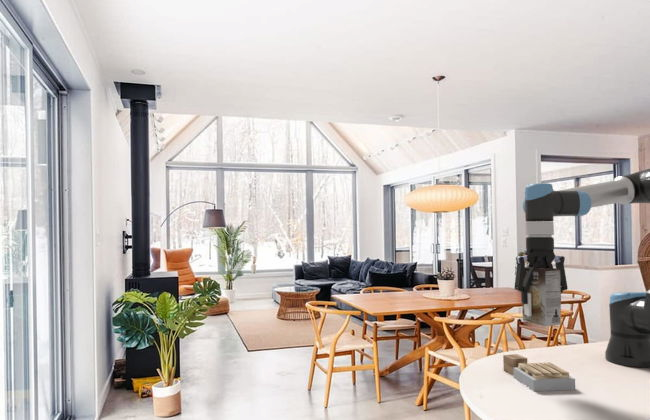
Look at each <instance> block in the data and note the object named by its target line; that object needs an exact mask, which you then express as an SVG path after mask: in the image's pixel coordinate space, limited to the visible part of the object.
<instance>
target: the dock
mask: <svg viewBox="0 0 650 420" xmlns="http://www.w3.org/2000/svg"><path fill="white" fill-rule="evenodd" d="M513 373H514V376H513V379H515V380H516V379H517V380H516V381H518V382H519V381H520V382H519V383H521V384H522V383H523V384H522V385H524V386H525V385H526V388H528V387H529V389H530V390H531V391H533V392H545V391H546V392H547V391H548V392H549V391H574V390H576V378H574V377H572V376H570V375H569V376H570V378H548V379H534V378H533V377H532V374H526V373H525V370H520V369H518V367H516V368H513Z"/></svg>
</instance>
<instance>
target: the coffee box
mask: <svg viewBox="0 0 650 420" xmlns="http://www.w3.org/2000/svg"><path fill="white" fill-rule="evenodd" d="M530 269H531V268H528V266H525V270H524V278H525V275H526V273H527V272H528V271H529V270H530ZM523 281H524V279H523ZM528 293H531V316H527V315H525V314H524V304H523V303H522V302H521V304H522V305H521V306H522V311H521V312H522V322H527V323H530V324H534V325H539V326H542V327H553V326H560V325H562V306H561V305H562V293H561V286H560V269H556V267H553V268H536V269H534V271H533V280H532V283H531V285H530V288H529V291H528Z"/></svg>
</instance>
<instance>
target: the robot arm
mask: <svg viewBox="0 0 650 420" xmlns="http://www.w3.org/2000/svg"><path fill="white" fill-rule="evenodd" d="M524 190H525V191H524V199H523V202H522V210H523V213H524V214H525V215H524V216H525V235H526V236H527V237H526V238H525V250H526V252H525V254H524V255H522V256H520V255H519V256H518V255H517V256H516V257H515V260H516V271H515V280H514V287H513V288H514V290H515V291H518V292H520V296H521V298H520V299H521V304H522V303H523V304H524V314H525V315H527V316H531V293H528V291H529V288H530V285H531V283H532V280H533V271H534V269H536V268H554V266H553V262H554V263H555V264H554V265H555V268H556V269H560V286H561V294H562V293H564V291H567V290H568V283H567V276H566V269H565V256H563V255H556V254H555V252H554V250H555V238H554V234H555V231H554V230H555V229H554V227H555V226H554V225H555V223H554V217H581V216H586V215H588V214H589V212H590V211H591V209H592V208H596V207H603V206H608V205H614V204H620V205H622V206H623V205H628V204H629V205H630V204H650V168H648V169H644V170H640V171H637V172H633V173H629V174H626V175H621V176H617V177H615V178H613V180H610V181H609V180H608V181H606V182H605V181H603V182H599V183H593V184H587V185H580V186H577V187H576V186H575V187H571V188H566V189H559V190H554V187H553V184H552V183H547V182H545V183H543V182H541V183H540V182H539V183H528V184H527V185H526V186H525V189H524ZM526 262H528V266H527V267H528V268H531V269H530V270H529V271H528V272H527V273H526V275H525V278H524V270H525V267H526ZM523 279H524V281H523ZM608 306H609V325H610V327H609V328H610V329H609V330H610V337H609V341H608V343H607V345H606V349H605V351H604V353H605V354H604V355H605V357H604V358H605V360H607V361H609V362H610V363H613V364H617V365H621V366H627V367H633V368H634V367H635V368H650V289H648V290H647V291H646V292H645V291H633V292H629V291H628V292H625V291H624V292H613V293H611V295H610V296H609V304H608Z"/></svg>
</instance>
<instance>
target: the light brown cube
mask: <svg viewBox="0 0 650 420" xmlns="http://www.w3.org/2000/svg"><path fill="white" fill-rule="evenodd" d="M502 356H503V360H502V361H503V363H502V364H503V372H505V373H507V374H510V375H512V376H513V375H514V373H513V368H516V367H518V363H525V364H527V363H528V357H525V356H524V355H521V354H518V353H515V354H514V353H513V354H503V355H502Z"/></svg>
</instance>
